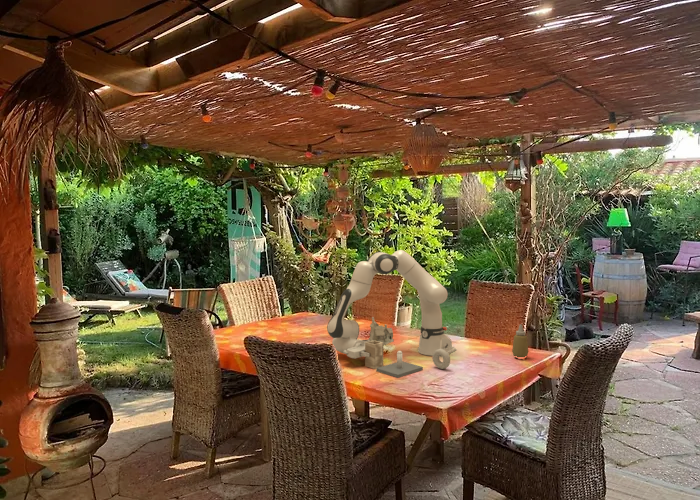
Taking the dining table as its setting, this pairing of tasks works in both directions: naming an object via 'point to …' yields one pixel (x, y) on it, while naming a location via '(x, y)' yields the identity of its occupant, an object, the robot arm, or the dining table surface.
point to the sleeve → (374, 354)
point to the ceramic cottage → (380, 333)
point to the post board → (399, 368)
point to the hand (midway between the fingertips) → (375, 353)
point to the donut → (437, 361)
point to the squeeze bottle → (520, 343)
